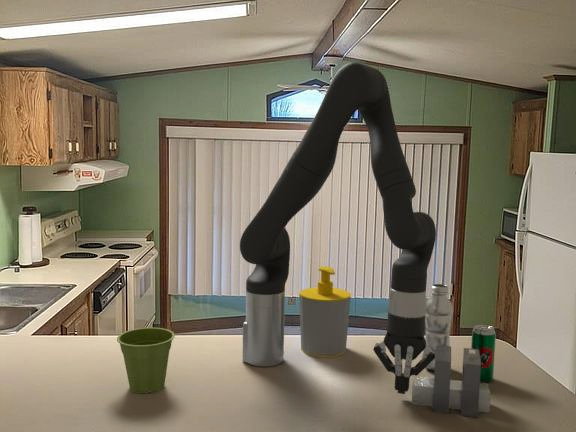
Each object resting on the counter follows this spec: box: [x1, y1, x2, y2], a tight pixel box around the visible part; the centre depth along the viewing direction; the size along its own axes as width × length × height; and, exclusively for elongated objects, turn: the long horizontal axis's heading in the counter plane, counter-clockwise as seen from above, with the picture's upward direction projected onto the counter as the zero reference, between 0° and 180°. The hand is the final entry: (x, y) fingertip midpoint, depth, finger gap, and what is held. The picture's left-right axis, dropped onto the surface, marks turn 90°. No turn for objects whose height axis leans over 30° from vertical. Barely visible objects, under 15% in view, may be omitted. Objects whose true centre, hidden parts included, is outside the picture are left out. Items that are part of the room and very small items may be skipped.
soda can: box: [470, 324, 497, 383], centre depth 135 cm, size 5×5×12 cm
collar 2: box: [461, 347, 481, 418], centre depth 121 cm, size 3×9×12 cm, turn 165°
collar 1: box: [432, 345, 452, 414], centre depth 122 cm, size 3×9×10 cm, turn 165°
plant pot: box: [116, 327, 176, 394], centre depth 127 cm, size 12×12×11 cm
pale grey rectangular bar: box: [411, 375, 491, 414], centre depth 123 cm, size 15×5×4 cm, turn 78°
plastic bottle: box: [421, 283, 454, 371], centre depth 140 cm, size 6×7×20 cm
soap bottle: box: [298, 266, 352, 358], centre depth 152 cm, size 13×13×21 cm
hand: (401, 392), depth 124 cm, fingers closed
